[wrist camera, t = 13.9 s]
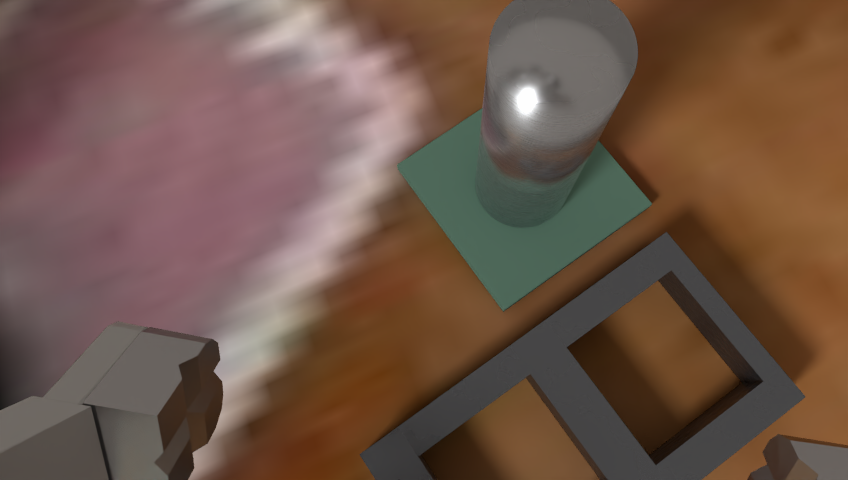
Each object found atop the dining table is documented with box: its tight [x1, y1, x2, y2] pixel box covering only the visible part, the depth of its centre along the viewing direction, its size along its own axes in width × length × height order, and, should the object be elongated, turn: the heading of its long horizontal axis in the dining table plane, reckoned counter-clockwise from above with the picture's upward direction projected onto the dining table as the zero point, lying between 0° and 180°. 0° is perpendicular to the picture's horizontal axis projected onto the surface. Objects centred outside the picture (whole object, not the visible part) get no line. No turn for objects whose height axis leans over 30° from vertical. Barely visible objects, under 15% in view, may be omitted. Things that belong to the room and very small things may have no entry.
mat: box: [397, 108, 652, 312], centre depth 31 cm, size 9×9×1 cm
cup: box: [475, 0, 638, 228], centre depth 25 cm, size 5×5×12 cm
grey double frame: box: [360, 232, 805, 480], centre depth 28 cm, size 9×17×2 cm, turn 125°
